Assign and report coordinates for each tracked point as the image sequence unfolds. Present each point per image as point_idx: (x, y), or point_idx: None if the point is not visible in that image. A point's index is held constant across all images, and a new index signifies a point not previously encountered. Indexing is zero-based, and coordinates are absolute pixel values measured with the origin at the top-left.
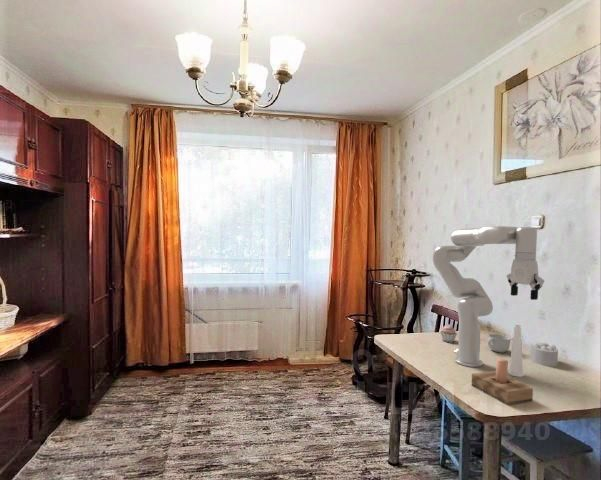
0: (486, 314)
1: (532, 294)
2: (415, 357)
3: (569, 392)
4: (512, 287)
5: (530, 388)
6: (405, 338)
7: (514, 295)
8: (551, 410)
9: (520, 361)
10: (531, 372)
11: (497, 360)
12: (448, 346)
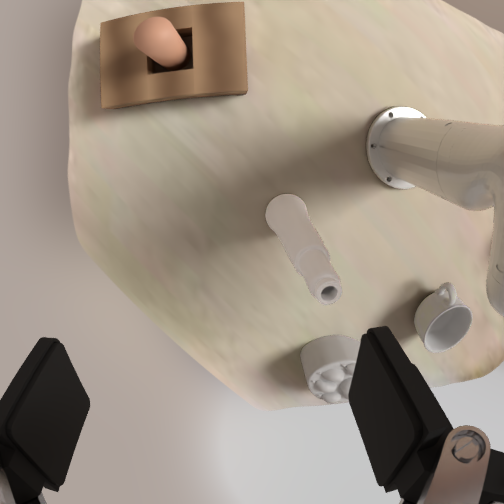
0: (489, 261)
1: (20, 388)
2: (460, 38)
3: (147, 253)
4: (412, 421)
5: (101, 99)
6: None
7: (359, 362)
8: (70, 119)
9: (276, 228)
10: (285, 271)
11: (157, 17)
12: None
